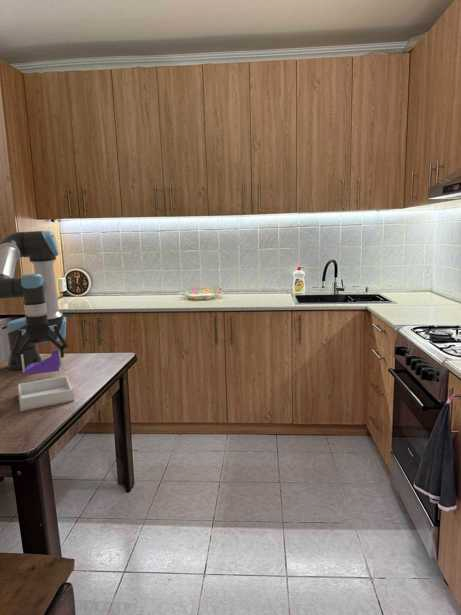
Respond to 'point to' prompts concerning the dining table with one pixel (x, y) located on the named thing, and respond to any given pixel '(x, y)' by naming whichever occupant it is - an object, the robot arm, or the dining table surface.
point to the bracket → (44, 365)
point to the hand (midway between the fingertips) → (42, 368)
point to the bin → (45, 393)
